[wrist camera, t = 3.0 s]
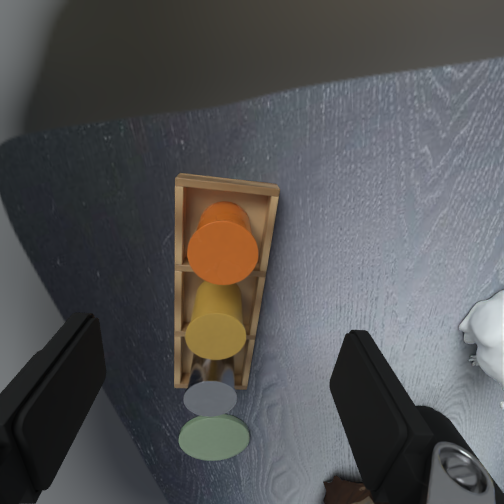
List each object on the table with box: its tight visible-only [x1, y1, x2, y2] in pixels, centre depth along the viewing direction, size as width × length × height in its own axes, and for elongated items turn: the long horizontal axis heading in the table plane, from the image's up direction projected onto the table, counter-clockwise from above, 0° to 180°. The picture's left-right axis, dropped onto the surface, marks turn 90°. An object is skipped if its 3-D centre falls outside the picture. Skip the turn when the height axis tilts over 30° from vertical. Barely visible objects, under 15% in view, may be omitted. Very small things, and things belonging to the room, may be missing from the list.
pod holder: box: [174, 173, 280, 390], centre depth 25 cm, size 22×8×2 cm, turn 173°
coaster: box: [179, 414, 250, 461], centre depth 35 cm, size 9×9×1 cm
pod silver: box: [184, 353, 237, 417], centre depth 26 cm, size 5×5×6 cm
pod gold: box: [185, 281, 246, 360], centre depth 23 cm, size 5×5×6 cm
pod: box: [187, 201, 258, 285], centre depth 20 cm, size 5×5×6 cm
